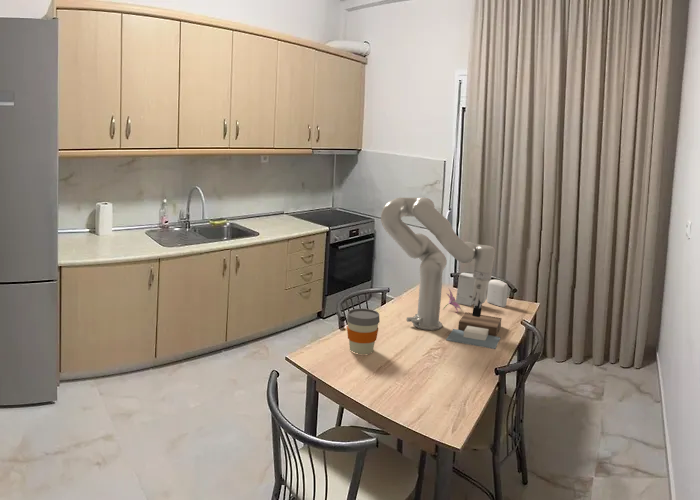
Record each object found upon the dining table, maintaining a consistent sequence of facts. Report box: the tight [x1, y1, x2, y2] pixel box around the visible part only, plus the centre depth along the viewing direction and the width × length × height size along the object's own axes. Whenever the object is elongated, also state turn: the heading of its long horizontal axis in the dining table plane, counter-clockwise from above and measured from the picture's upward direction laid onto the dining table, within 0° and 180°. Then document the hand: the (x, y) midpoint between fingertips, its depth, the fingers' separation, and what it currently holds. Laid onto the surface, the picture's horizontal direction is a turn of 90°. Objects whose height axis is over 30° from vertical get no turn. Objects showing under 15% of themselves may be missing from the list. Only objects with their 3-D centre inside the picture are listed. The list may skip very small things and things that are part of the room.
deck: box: [457, 311, 502, 336], centre depth 264 cm, size 14×16×4 cm
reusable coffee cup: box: [346, 308, 380, 355], centre depth 231 cm, size 13×13×15 cm
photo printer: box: [486, 279, 509, 308], centre depth 298 cm, size 10×4×12 cm, turn 39°
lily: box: [442, 288, 462, 313], centre depth 286 cm, size 12×12×10 cm
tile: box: [463, 325, 489, 341], centre depth 253 cm, size 8×9×2 cm
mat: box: [445, 328, 501, 350], centre depth 251 cm, size 14×20×1 cm
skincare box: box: [455, 272, 475, 307], centre depth 297 cm, size 8×6×15 cm
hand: (476, 316), depth 257 cm, fingers closed
